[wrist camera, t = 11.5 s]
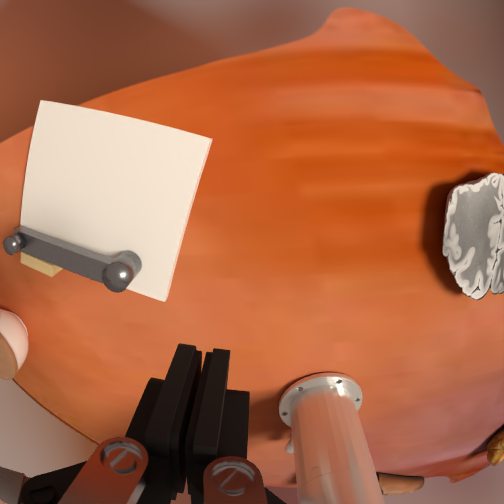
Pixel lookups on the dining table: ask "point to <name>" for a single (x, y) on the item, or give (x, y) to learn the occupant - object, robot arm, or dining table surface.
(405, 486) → the sunglasses case
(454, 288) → the dining table surface
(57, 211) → the door board
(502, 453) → the bread roll
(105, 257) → the bar
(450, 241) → the brain slice
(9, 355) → the lidded jar
